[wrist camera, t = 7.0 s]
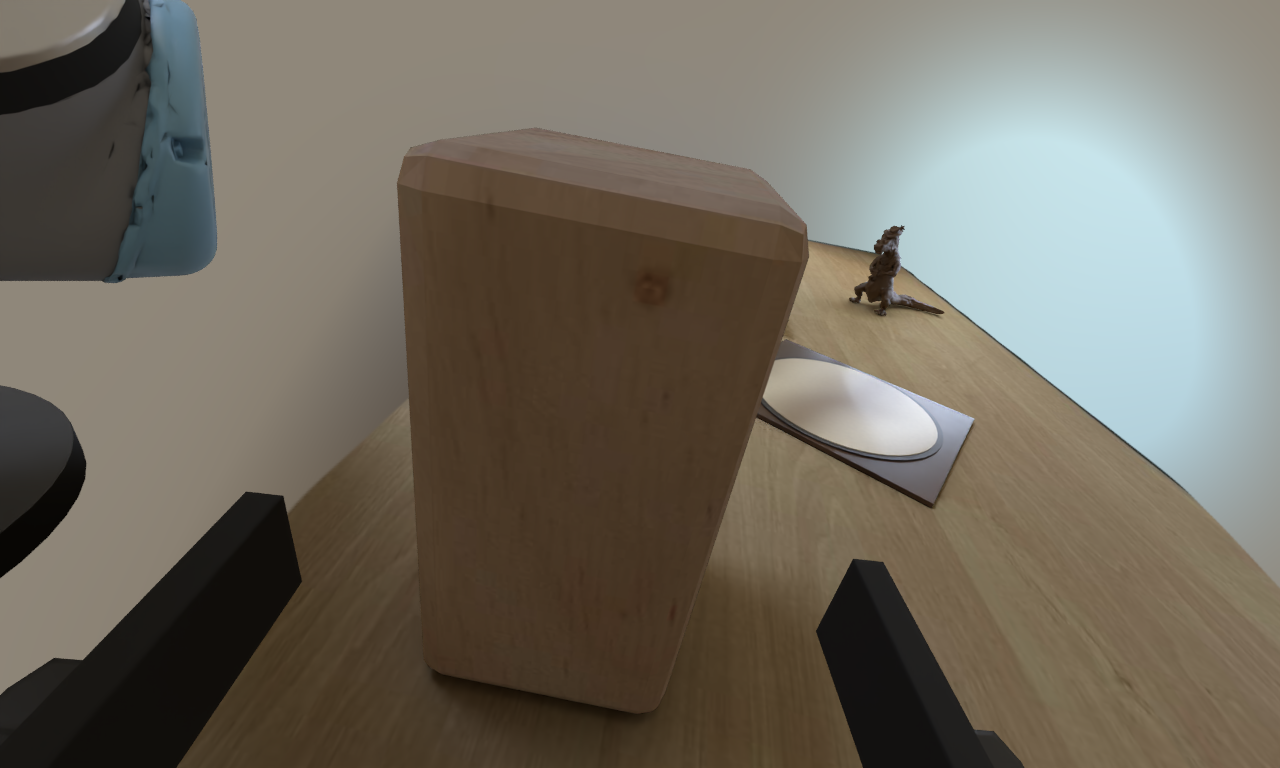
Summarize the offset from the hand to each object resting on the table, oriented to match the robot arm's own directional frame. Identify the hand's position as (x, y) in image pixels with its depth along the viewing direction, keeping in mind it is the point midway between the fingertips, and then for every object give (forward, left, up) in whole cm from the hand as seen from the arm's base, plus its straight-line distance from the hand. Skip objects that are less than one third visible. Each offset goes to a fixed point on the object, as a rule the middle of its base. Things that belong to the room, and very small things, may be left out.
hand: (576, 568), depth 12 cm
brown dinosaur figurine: (-8, +77, -12) cm, 78 cm away
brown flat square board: (-3, +39, -12) cm, 41 cm away
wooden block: (-5, +6, -12) cm, 14 cm away
